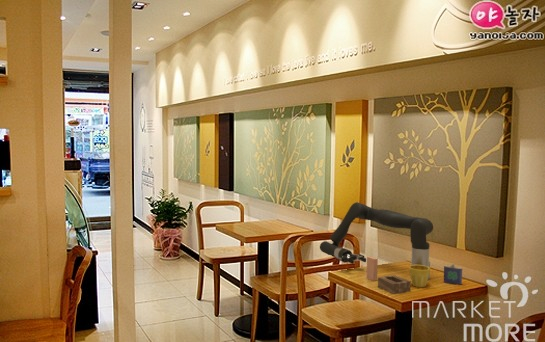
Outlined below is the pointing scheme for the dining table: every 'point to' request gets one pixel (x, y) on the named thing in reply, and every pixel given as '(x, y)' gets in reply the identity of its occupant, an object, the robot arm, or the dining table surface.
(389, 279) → the walnut frame
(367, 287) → the dining table surface
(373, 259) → the tall pink pillar
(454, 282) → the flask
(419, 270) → the plant pot
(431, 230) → the robot arm
